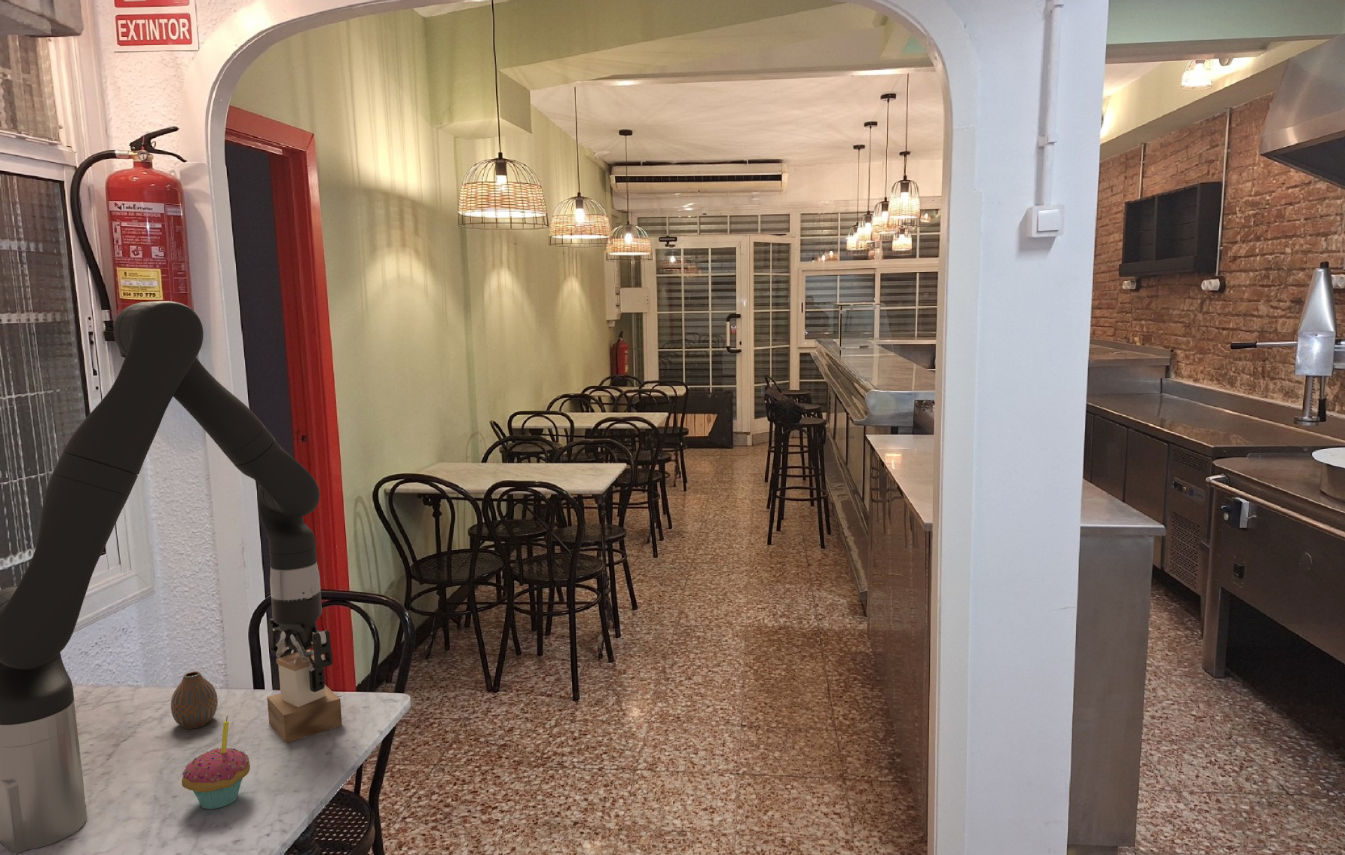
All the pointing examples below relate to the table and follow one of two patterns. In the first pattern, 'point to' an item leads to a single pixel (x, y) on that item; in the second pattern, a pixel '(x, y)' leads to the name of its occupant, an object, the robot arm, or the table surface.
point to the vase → (194, 701)
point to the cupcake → (217, 774)
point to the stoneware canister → (296, 680)
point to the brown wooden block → (304, 716)
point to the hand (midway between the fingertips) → (302, 684)
